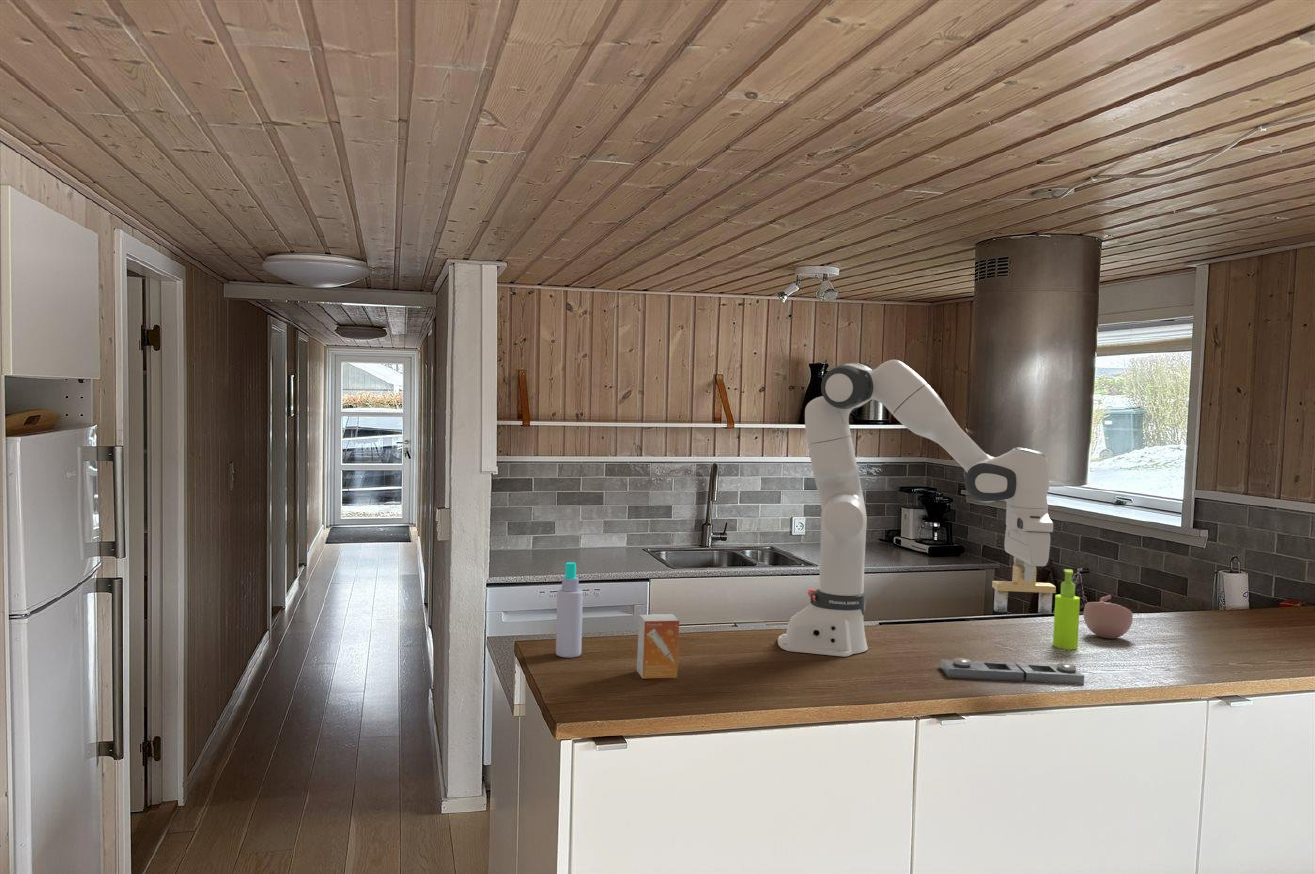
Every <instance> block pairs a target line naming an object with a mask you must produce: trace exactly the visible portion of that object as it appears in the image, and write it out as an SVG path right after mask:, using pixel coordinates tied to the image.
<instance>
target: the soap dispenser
mask: <svg viewBox="0 0 1315 874" xmlns="http://www.w3.org/2000/svg"><path fill="white" fill-rule="evenodd" d="M1063 573H1064V580H1063V581H1062V582H1061V583H1060V594H1055V596H1054V598H1055V599H1054V612H1053V613H1054V614H1053V615H1054V616H1053V635H1052V637H1053V638H1052V645H1053V646H1052V647H1055V648H1058V649H1062V650H1063V649H1064V650H1076V649H1078V647H1079V646H1078V644H1079V642H1078V641H1079V624H1080V623H1079V622H1080V605H1081V604H1080V602H1081V600H1080V599H1081V598H1080V597H1079V596H1076V583H1074V582H1073V575H1074V571H1073V569H1070V568H1069V569H1068V568H1063Z"/></svg>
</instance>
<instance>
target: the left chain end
mask: <svg viewBox="0 0 1315 874" xmlns="http://www.w3.org/2000/svg"><path fill="white" fill-rule="evenodd" d="M939 663H940V664H939V669H941V670H942V672H943V673H944V674H945V675H946V677H947V678H951V679H952V678H953V679H954V678H955V679H969V680H971V679H972V680H989V681H990V680H991V681H1008V682H1009V681H1010V682H1011V681H1012V682H1024V681H1025V680H1024V672H1023V671H1022V670H1020V669H1019V668H1018V667H1017V666H1016V665H1015V663H1014V662H1013V661H1012V662H1010V661H1009V662H1008V661H1007V662H1006V661H989V660H988V661H986V660H971V659H969V658H964V657H963V658H962V657H955V658H953V659H950V658H949V659H947V658H940V662H939Z"/></svg>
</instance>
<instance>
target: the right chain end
mask: <svg viewBox="0 0 1315 874" xmlns="http://www.w3.org/2000/svg"><path fill="white" fill-rule="evenodd" d="M1014 664H1015V665H1016V666H1017V667H1018V668H1019V669H1020V670H1022V671H1023V672H1024V680H1023V681H1025V682H1030V683H1048V684H1049V683H1051V684H1069V685H1070V684H1072V685H1085V675H1084V674H1083V673H1081V672H1080V671H1079V670H1078V669H1077V665H1075V664H1072V663H1067V662H1059V663H1056V664H1048V663H1030V662H1029V663H1028V662H1027V663H1026V662H1015V663H1014Z"/></svg>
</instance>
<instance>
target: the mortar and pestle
mask: <svg viewBox="0 0 1315 874" xmlns="http://www.w3.org/2000/svg"><path fill="white" fill-rule="evenodd" d="M1111 599H1112V595H1110V594H1109V595H1106V596H1102V597H1100V598H1099V601H1088V602H1087V603H1085V605H1084V608H1083V621H1084V623H1085V625H1086V627H1087V628H1088V629H1089V631H1090V632H1091V633H1092V634H1093V635H1096V636H1098V637H1100V638H1103V639H1111V640H1112V639H1118V638H1120V637H1122V636H1124V635H1125V634H1127V632H1128V631H1129V630H1130V629H1131V626H1132V624H1133V617H1134V615H1133V612H1132V611H1131V610H1130V609H1129V608H1127V607H1125V606H1122V605H1120V604H1117V603H1112V602H1106V601H1109V600H1111Z"/></svg>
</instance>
